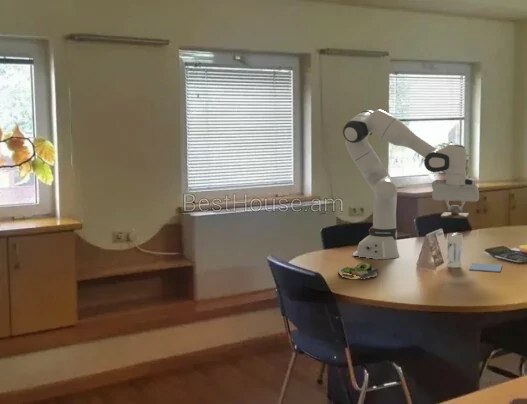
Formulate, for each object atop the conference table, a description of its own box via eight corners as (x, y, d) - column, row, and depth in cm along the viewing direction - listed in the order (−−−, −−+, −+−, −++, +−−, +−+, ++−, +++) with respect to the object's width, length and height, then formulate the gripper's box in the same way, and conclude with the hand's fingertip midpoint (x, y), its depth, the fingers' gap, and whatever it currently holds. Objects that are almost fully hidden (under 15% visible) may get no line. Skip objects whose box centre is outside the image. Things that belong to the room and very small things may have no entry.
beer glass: (463, 268, 300) (463, 235, 298) (447, 268, 302) (447, 235, 300) (461, 265, 307) (462, 232, 305) (446, 264, 308) (446, 232, 307)
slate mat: (469, 270, 297) (469, 269, 297) (472, 264, 309) (472, 262, 308) (500, 272, 292) (500, 271, 292) (502, 265, 303) (502, 264, 303)
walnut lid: (440, 217, 299) (440, 206, 298) (444, 213, 309) (444, 203, 308) (466, 218, 294) (466, 207, 294) (468, 214, 304) (469, 204, 304)
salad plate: (382, 282, 281) (382, 271, 281) (339, 282, 283) (339, 271, 282) (378, 271, 300) (378, 261, 300) (338, 271, 302) (338, 261, 301)
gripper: (430, 180, 300) (430, 210, 302) (478, 181, 292) (477, 212, 294) (433, 178, 306) (432, 208, 308) (480, 179, 298) (479, 210, 300)
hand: (455, 210), depth 301 cm, fingers closed on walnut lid, 3 cm apart
